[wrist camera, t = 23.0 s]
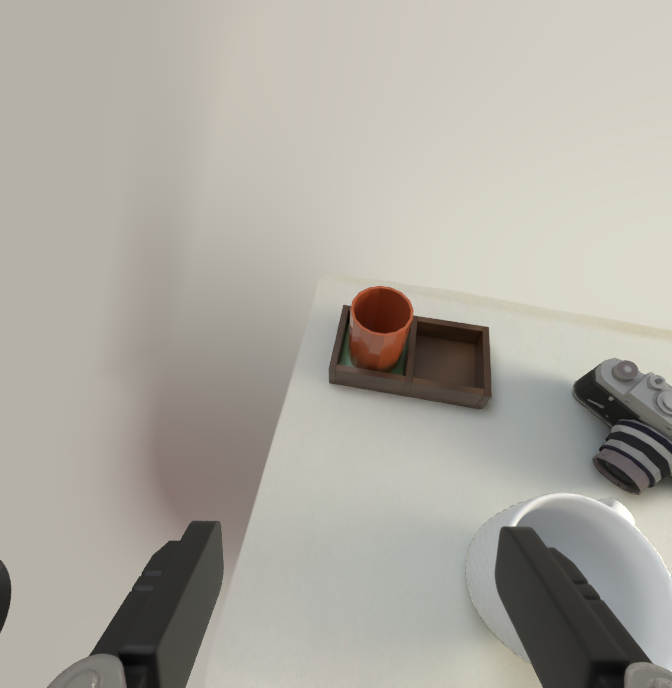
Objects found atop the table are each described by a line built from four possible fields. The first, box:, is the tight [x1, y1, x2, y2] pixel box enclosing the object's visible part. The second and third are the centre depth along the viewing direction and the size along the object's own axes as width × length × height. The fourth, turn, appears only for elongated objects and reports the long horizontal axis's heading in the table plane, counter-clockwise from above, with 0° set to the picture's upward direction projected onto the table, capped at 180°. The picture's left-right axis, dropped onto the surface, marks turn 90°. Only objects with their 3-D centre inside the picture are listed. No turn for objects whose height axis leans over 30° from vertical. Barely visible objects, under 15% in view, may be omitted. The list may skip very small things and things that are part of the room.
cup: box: [348, 286, 413, 373], centre depth 43 cm, size 7×7×9 cm
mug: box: [466, 493, 672, 672], centre depth 29 cm, size 15×11×13 cm
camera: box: [573, 358, 672, 495], centre depth 37 cm, size 16×9×10 cm, turn 38°
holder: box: [329, 305, 492, 409], centre depth 45 cm, size 18×10×4 cm, turn 79°
